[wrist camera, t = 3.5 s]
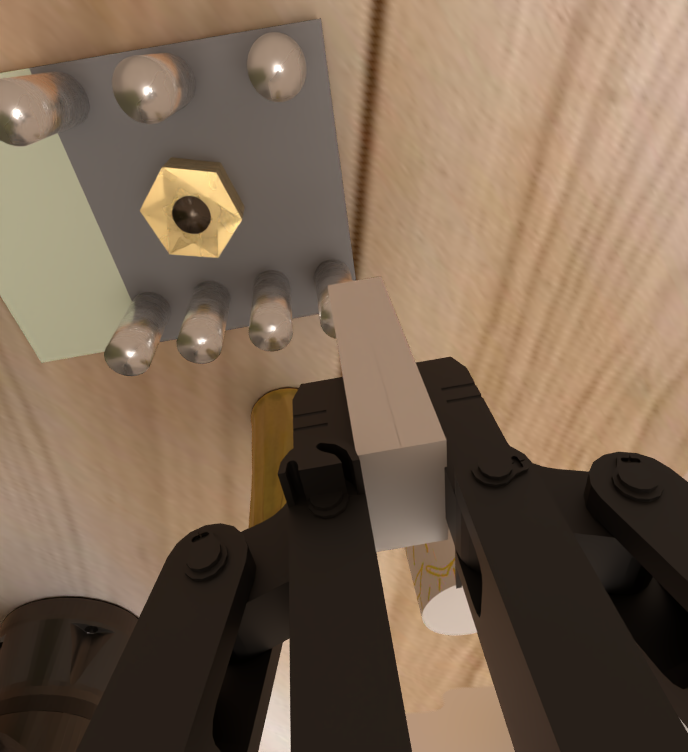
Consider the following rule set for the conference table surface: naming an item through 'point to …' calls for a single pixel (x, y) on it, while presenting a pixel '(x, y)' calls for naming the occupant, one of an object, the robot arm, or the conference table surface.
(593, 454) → the conference table surface
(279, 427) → the vase
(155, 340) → the set of metal pegs
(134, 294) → the plate
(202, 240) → the nut
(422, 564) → the cup
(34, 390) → the conference table surface
